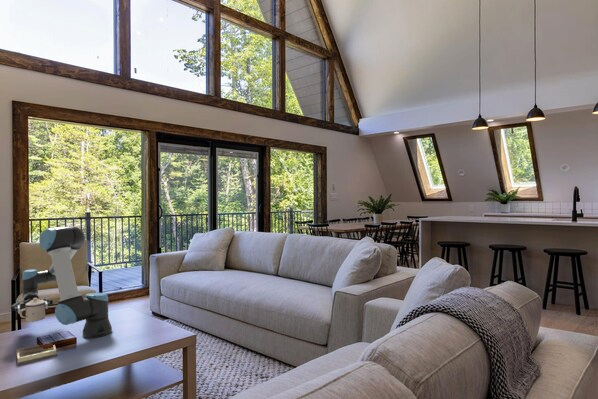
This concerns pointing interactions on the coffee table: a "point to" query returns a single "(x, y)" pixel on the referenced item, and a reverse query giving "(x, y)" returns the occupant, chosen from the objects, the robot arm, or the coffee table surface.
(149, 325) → the coffee table surface
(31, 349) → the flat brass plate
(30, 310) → the teacup with lid
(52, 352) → the brass cradle
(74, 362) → the coffee table surface
